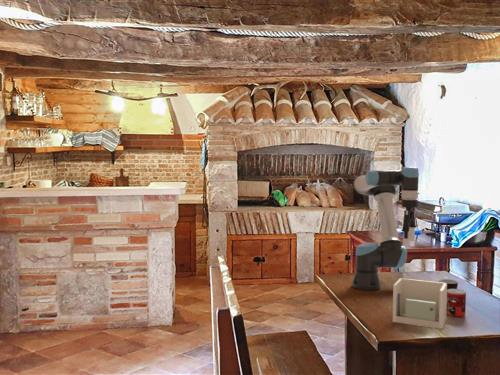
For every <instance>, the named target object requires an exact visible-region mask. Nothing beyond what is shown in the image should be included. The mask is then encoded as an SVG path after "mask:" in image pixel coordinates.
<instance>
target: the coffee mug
mask: <svg viewBox="0 0 500 375" xmlns="http://www.w3.org/2000/svg"><path fill="white" fill-rule="evenodd" d="M438 282H442V283H447V290H448V289H458V284H459V281H457V280H455V279H450V278H449V279H448V278H442V279H441V278H440V279H439V280H438Z"/></svg>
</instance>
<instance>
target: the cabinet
mask: <svg viewBox="0 0 500 375" xmlns="http://www.w3.org/2000/svg"><path fill="white" fill-rule="evenodd" d="M392 286H393V287H392V288H393V290H392V291H393V292H392V323H399V324H405V325H410V326H412V325H413V326H418V327H426V328H431V329H439V330H443V328H444V326H445V323H446V321H447V313H446V309H447V283H442V282H439V281H431V280H421V279H412V278H405V277H404V278H403V277H399V279H397V281H396V282H395V283H393V285H392ZM406 299H414V300H422V301H430V302H436V321H429V320H422V319H415V318H407V317H405V313H406Z"/></svg>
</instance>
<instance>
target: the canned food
mask: <svg viewBox="0 0 500 375" xmlns="http://www.w3.org/2000/svg"><path fill="white" fill-rule="evenodd" d="M466 302H467V292H466V290H464V289H459V288H457V289H448V290H447V309H446V316H448V317H450V318H458V319H459V318H460V319H462V318H464V317H465V316H466V306H467V304H466Z"/></svg>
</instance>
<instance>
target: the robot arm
mask: <svg viewBox="0 0 500 375" xmlns="http://www.w3.org/2000/svg"><path fill="white" fill-rule="evenodd" d="M419 175H420V174H419V168H418V167H416V166H403V167H402V169H399V170H398V169H395V170H392V169H390V170H389V169H387V170H383V169H382V170H375V169H373V170H367V171H366V172H365V174H364V175H363V174H362V175H359V176H357V177H356V178H355V179H354V181H353V188H354V191H356V192H357V193H358V194H360V195H363V196H373V200H374V201H375V202H377V203H376V204H377V212H378V218H379V220H378V221H379V226H380V234H381V235H380V236H381V242H380V243H379V244H378V243H377V242H363V243H360V244H358V245H357V246H356V248H355V273H354V276H353V279H352V281H351V282H352V284H351V286H352V287H353V288H354V289H357V290H361V291H376V290H380V289H381V288H382V282H381V279H380V277H379V271H378V270H379V268H380V269H381V268H387V269H388V268H390V269H391V268H395V269H396V268H403V267H404V266H405V265H406V263H407V257H408V249H407V246H408V247H409V246H410V242H415V238H416V236H415V235H416V234H415V231H416V228H417V224H416V214H415V212H416V211H415V210H416V209H417V208H418V207H419V200H418V199H419V195H420V192H419V177H420V176H419ZM398 186H401V207H402V208H405V210H404V211H403V212H404V213H403V221H402V222H403V223H402V229H401V232H402V233H403V234H402V236H403V237H402V239H403V241H401V240H400V239H399V236H398V235H399V234H398V228H397V221H396V215H395V214H396V213H395V208H394V207H395V206H394V202H393V200H394V199H395V197H396V196H397V194H398Z"/></svg>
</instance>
